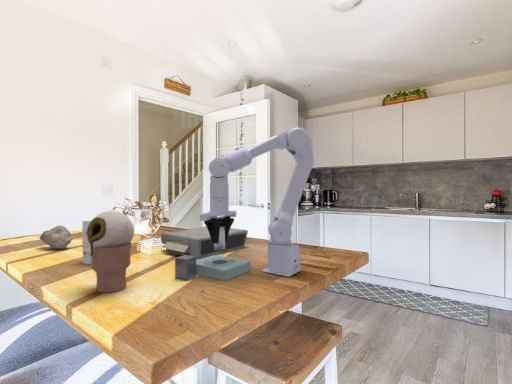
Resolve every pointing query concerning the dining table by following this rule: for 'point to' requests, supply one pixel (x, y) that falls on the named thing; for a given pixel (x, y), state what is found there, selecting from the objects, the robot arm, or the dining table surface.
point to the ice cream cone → (110, 249)
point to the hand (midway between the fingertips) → (219, 242)
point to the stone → (57, 237)
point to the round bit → (220, 239)
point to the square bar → (185, 267)
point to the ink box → (86, 244)
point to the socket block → (222, 267)
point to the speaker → (201, 242)
